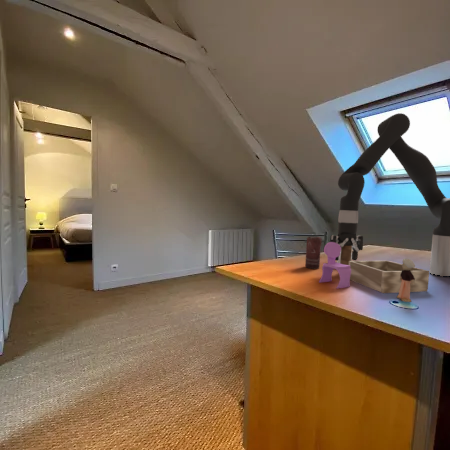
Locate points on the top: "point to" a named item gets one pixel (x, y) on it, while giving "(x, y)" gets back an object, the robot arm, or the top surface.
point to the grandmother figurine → (406, 280)
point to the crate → (386, 276)
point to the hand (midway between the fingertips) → (345, 260)
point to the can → (313, 252)
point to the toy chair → (335, 266)
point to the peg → (345, 255)
